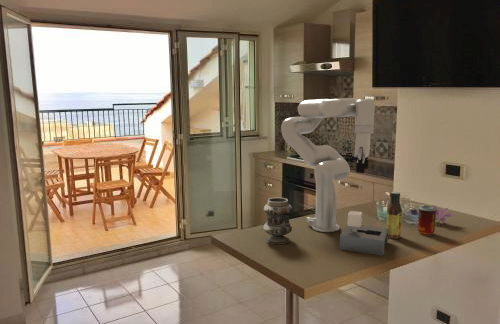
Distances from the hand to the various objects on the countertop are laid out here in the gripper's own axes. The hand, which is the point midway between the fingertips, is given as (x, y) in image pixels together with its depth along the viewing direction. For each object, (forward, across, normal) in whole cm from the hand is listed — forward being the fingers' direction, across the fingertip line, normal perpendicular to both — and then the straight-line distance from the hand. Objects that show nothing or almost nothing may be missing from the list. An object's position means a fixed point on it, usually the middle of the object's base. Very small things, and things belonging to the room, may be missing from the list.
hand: (362, 170), depth 179 cm
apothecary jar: (+31, +14, -32) cm, 46 cm away
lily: (+31, -37, +31) cm, 58 cm away
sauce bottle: (+31, -10, +13) cm, 35 cm away
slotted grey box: (+30, +6, +3) cm, 31 cm away
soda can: (+31, -20, +26) cm, 45 cm away
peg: (+30, +6, -1) cm, 31 cm away
